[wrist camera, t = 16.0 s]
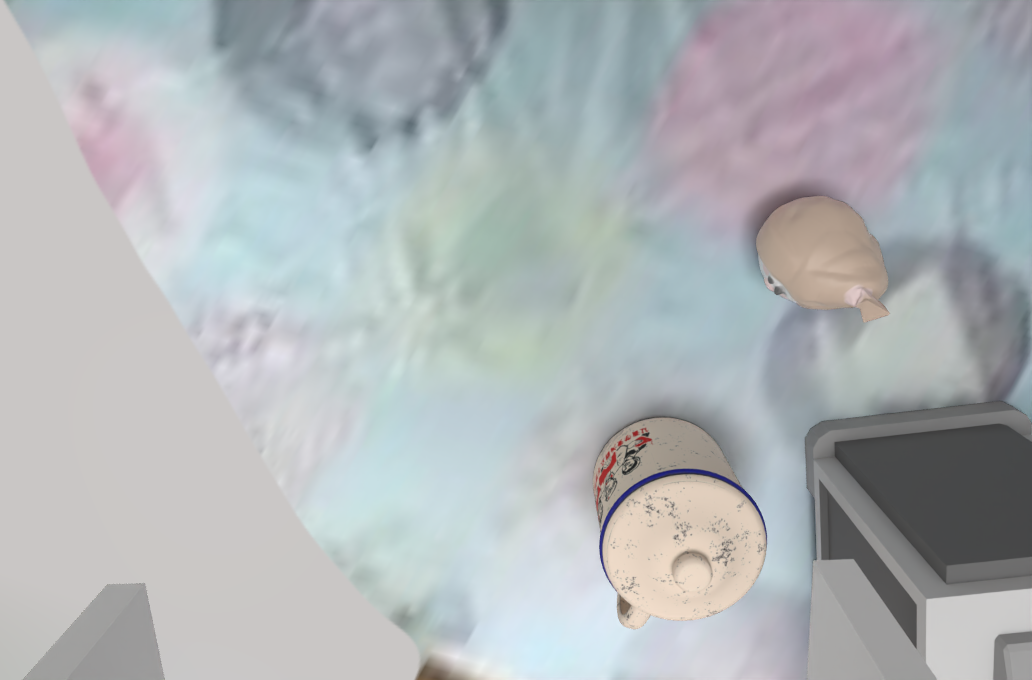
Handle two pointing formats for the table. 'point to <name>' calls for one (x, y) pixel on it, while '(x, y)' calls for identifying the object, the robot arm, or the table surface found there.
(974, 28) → the table surface
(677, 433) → the teacup with lid
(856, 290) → the garlic bulb
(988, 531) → the alarm clock
